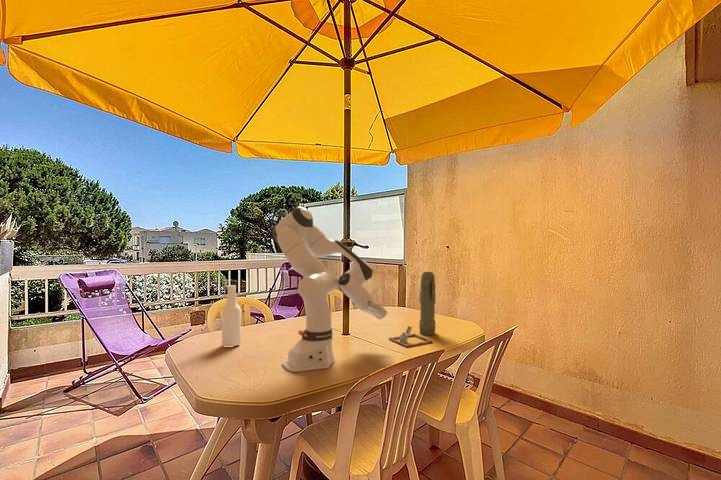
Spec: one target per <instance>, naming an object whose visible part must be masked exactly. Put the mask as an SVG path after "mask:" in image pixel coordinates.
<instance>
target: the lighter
mask: <svg viewBox="0 0 721 480" xmlns="http://www.w3.org/2000/svg"><path fill="white" fill-rule="evenodd" d="M412 329H413V327H412V326H409V325H407V329H406V332H405V331H403V332H401V333H400V334H399V336H400V339H399V342H402V343H404V344H407V343H408V338H409V337H408V335H410V334H411V332H412Z"/></svg>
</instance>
